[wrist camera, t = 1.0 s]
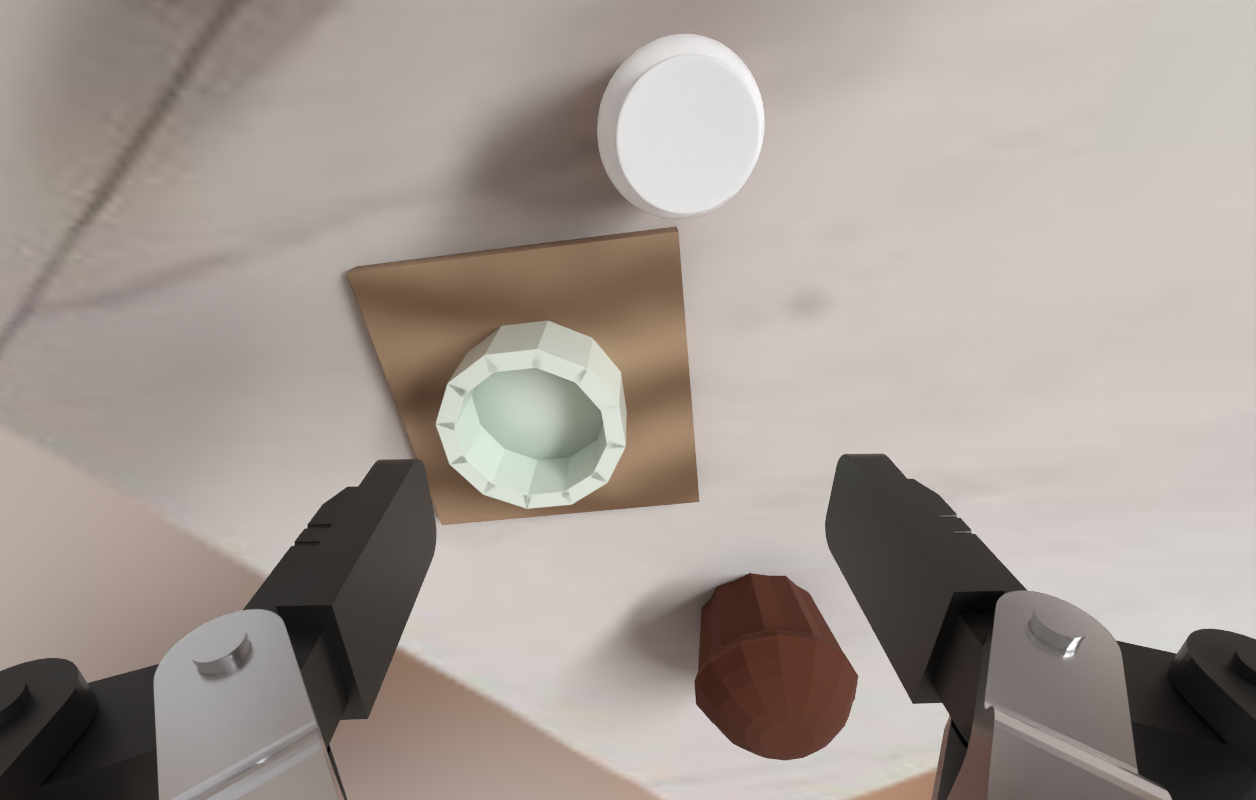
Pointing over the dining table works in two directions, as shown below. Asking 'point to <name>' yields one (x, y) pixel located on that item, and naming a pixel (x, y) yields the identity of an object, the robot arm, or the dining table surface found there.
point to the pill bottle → (680, 126)
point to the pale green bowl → (534, 416)
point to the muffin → (772, 669)
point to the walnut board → (532, 292)
